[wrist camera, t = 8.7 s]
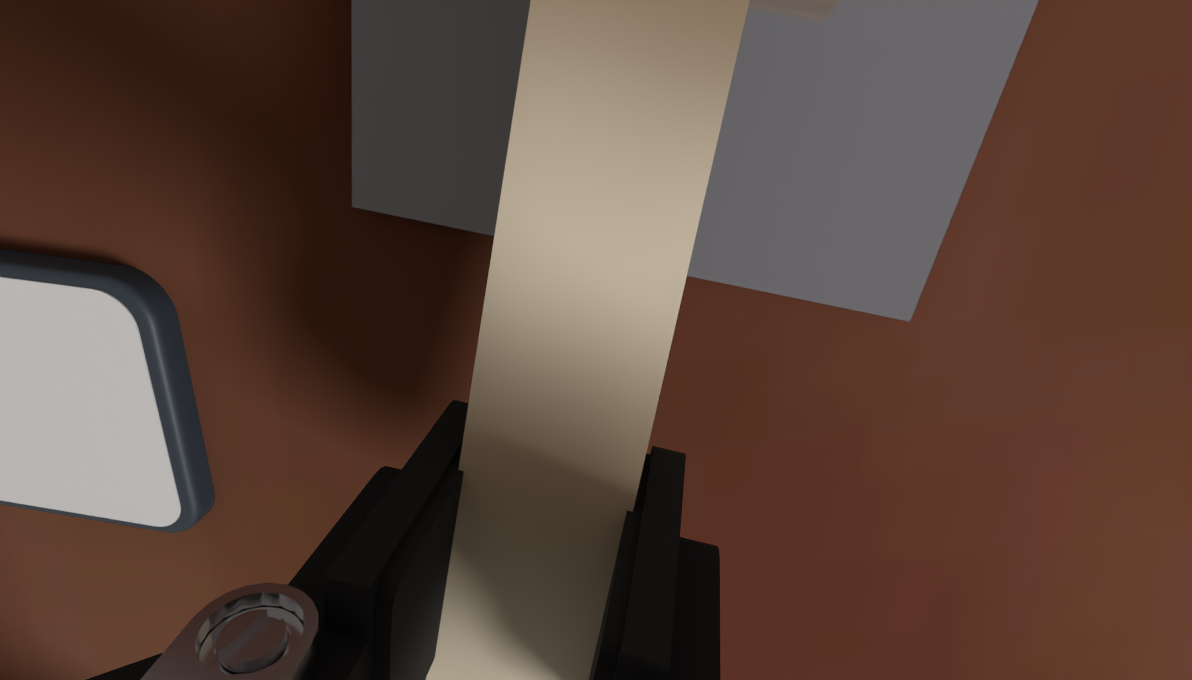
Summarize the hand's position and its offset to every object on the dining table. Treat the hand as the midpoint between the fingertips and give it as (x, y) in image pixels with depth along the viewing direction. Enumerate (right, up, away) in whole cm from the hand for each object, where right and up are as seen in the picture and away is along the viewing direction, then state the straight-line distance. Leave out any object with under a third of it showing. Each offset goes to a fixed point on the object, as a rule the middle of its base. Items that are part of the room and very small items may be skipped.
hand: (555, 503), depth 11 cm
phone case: (-19, +2, +10) cm, 22 cm away
